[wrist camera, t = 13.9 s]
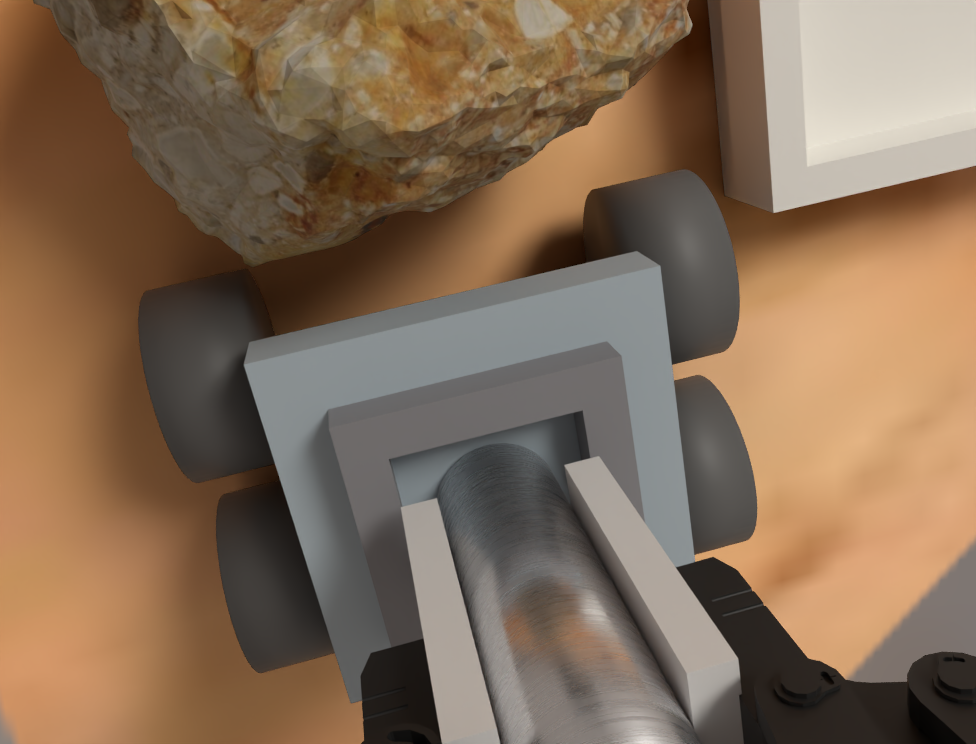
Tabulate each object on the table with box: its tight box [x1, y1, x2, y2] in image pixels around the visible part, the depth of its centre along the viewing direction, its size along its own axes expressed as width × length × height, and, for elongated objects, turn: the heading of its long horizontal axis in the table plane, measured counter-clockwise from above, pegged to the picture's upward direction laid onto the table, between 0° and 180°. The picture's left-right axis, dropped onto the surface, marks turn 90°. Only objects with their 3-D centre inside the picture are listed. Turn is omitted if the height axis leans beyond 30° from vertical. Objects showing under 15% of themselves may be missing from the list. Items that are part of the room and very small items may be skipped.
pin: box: [437, 443, 702, 744], centre depth 14 cm, size 4×4×12 cm
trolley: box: [138, 169, 757, 703], centre depth 23 cm, size 11×14×8 cm
